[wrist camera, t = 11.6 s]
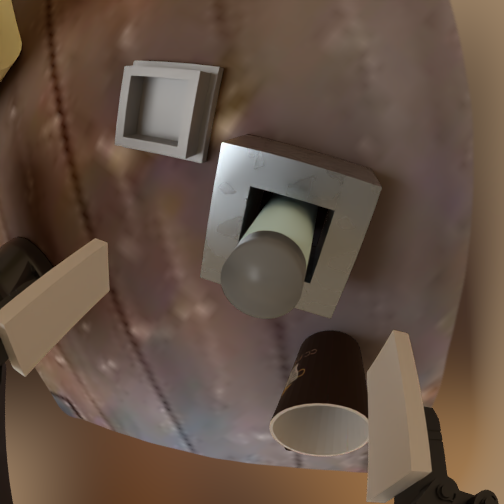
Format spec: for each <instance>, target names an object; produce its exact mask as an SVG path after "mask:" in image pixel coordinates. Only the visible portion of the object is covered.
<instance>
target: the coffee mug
mask: <svg viewBox="0 0 504 504" xmlns="http://www.w3.org/2000/svg"><path fill="white" fill-rule="evenodd" d="M269 428H270V433H271V434H272V436H273V438H274V439H275V440H276V441H277V442H278V443H280V444H281V445H282V446H284V447H285V449H286V450H289V451H295V452H298V453H301V454H305V455H311V456H337V455H343V454H346V453H350V452H352V451H355V450H357V449H359V448H361V447H362V446H364V445H365V444H366V443H367V442H368V441H369V430H368V392H367V386H366V380H365V374H364V368H363V363H362V357H361V352H360V347H359V345H358V343H357V342H356V341H355V340H354V339H353V338H352V337H351V336H349V335H347V334H345V333H342V332H338V331H323V332H319V333H315V334H313V335H311V336H310V337H308V338H307V339H306V340H305V341H304V342H303V344H302V346H301V348H300V351H299V353H298V356H297V358H296V361H295V364H294V366H293V369H292V371H291V374H290V376H289V379H288V381H287V384H286V386H285V389H284V391H283V393H282V396H281V398H280V401H279V403H278V405H277V408H276V410H275V413H274V415H273V417H272V420H271V422H270V427H269Z"/></svg>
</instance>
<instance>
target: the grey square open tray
mask: <svg viewBox="0 0 504 504" xmlns="http://www.w3.org/2000/svg"><path fill="white" fill-rule="evenodd" d="M223 70H224V68H221V67H216V66H207V65H198V64H188V63H175V62H159V61H134V64H133V66H125V68H124V74H123V80H122V87H121V94H120V101H119V109H118V117H117V126H116V136H115V145H118V146H122V147H126V148H131V149H136V150H141V151H146V152H151V153H156V154H161V155H166V156H171V157H175V158H180V159H184V160H189V161H193V162H198V163H204V162H206V160H207V154H208V148H209V142H210V136H211V131H212V125H213V120H214V115H215V109H216V104H217V99H218V94H219V89H220V84H221V79H222V74H223Z"/></svg>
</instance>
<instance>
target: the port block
mask: <svg viewBox="0 0 504 504" xmlns="http://www.w3.org/2000/svg"><path fill="white" fill-rule="evenodd" d="M381 189H382V187H381V185H380V183H379V181H378V180H377V178H376V176H375V175H374V173H373V171H372V170H371V169H369V168H367V167H364V166H361V165H357V164H354V163H351V162H348V161H345V160H342V159H339V158H335V157H332V156H329V155H325V154H322V153H319V152H315V151H312V150H308V149H304V148H301V147H297V146H293V145H290V144H286V143H282V142H278V141H274V140H270V139H266V138H262V137H258V136H253V135H249V134H246V135H243V136H240V137H237V138H233V139H230V140H227V141H224V142H222V144H221V150H220V155H219V161H218V166H217V172H216V178H215V183H214V189H213V195H212V201H211V207H210V214H209V220H208V226H207V233H206V239H205V246H204V253H203V260H202V267H201V274H200V278H203V279H206V280H209V281H212V282H215V283H218V284H221V271H222V267H223V265H224V263H225V262H226V260H227V259H228V257H229V256H230V254H231V253H232V252H233V250H234V249H235V247H236V246H237V244H238V243H239V242H240V240H241V239H242V237H243V236H244V235H245V233H246V232H247V230H248V229H249V227H250V226H251V225H252V223H253V222H254V220H255V219H256V218H257V216H258V215H259V210H260V206H261V202H262V197H263V193H264V190H266V191H270V192H273V193H277V194H280V195H284V196H287V197H291V198H294V199H298V200H301V201H305V202H308V203H311V204H315V205H318V206H321V207H324V208H328V212H327V215H326V219H325V222H324V225H323V228H322V231H321V234H320V237H319V240H318V243H317V246H316V247H314V246H311V250H310V255H309V260H308V265H307V270H306V275H305V280H304V284H303V289H302V294H301V297H300V300H299V302H298V303H297V305H296V306H295V307H294V308H297V309H300V310H303V311H307V312H310V313H313V314H317V315H320V316H324V317H327V318H330V319H331V317H332V315H333V312H334V310H335V308H336V306H337V303H338V301H339V299H340V296H341V294H342V292H343V289H344V287H345V284H346V282H347V280H348V277H349V275H350V272H351V270H352V267H353V265H354V262H355V260H356V257H357V255H358V252H359V250H360V247H361V245H362V242H363V239H364V237H365V234H366V231H367V229H368V226H369V223H370V220H371V218H372V215H373V212H374V209H375V206H376V203H377V201H378V198H379V195H380V192H381Z"/></svg>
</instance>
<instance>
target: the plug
mask: <svg viewBox="0 0 504 504" xmlns="http://www.w3.org/2000/svg"><path fill="white" fill-rule="evenodd" d="M317 213H318V206H317V205H315V204H311V203H308V202H305V201H301V200H298V199H294V198H291V197H287V196H284V195H280V194H277V193H274V194H273V195H272V197H271V198H270V199H269V201H268V202H267V204H266V205H265V206H264V208H263V209H262V211H261V212H260V213H259V215H258V216H257V218H256V219H255V220H254V222H253V223H252V225H251V226H250V227H249V229H248V230H247V232H246V233H245V235H244V236H243V237H242V239H241V240H240V242H239V243H238V244H237V246H236V247H235V249H234V250H233V252H232V253H231V254H230V256H229V257H228V259H227V260H226V262H225V263H224V265H223V267H222V271H221V286H222V289H223V292H224V294H225V296H226V297H227V299H228V300H229V301H230V302H231V304H232V305H233V306H235V307H236V308H237V309H238V310H240V311H241V312H243V313H245V314H247V315H250V316H252V317H256V318H262V319H271V318H277V317H280V316H283V315H285V314H287V313H288V312H290V311H291V310H292V309H293V308H294V307H295V306H296V305H297V303H298V302H299V300H300V297H301V294H302V289H303V284H304V280H305V275H306V270H307V265H308V260H309V255H310V250H311V245H312V240H313V235H314V229H315V224H316V219H317Z"/></svg>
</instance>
